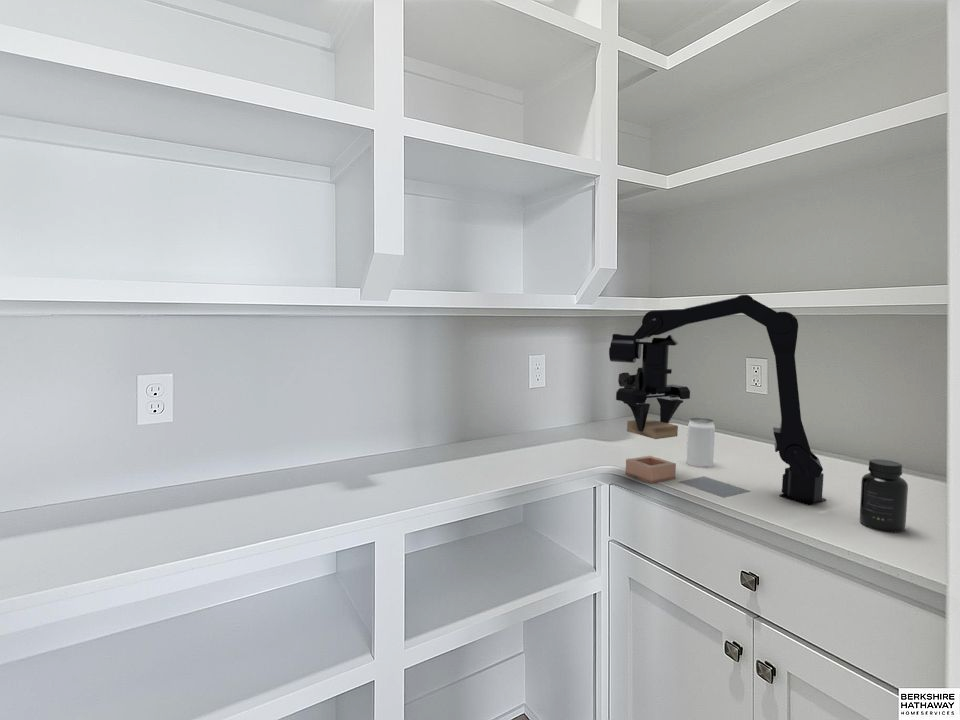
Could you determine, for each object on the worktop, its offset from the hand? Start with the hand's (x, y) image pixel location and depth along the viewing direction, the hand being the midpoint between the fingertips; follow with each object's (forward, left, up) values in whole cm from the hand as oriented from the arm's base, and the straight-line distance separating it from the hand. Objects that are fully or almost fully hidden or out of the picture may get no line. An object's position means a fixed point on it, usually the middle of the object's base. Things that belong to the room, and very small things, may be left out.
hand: (652, 429), depth 125 cm
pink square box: (0, 0, -12) cm, 12 cm away
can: (+2, -20, -12) cm, 23 cm away
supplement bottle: (-41, -16, -12) cm, 46 cm away
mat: (-12, -7, -12) cm, 18 cm away
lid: (0, 0, -1) cm, 1 cm away
